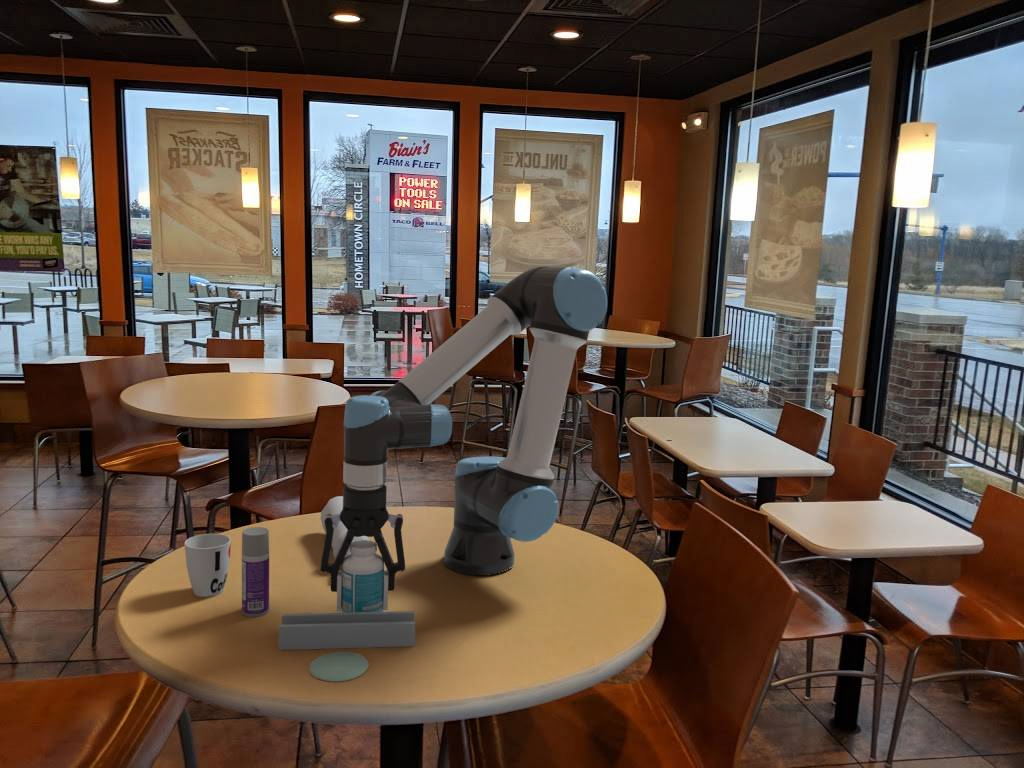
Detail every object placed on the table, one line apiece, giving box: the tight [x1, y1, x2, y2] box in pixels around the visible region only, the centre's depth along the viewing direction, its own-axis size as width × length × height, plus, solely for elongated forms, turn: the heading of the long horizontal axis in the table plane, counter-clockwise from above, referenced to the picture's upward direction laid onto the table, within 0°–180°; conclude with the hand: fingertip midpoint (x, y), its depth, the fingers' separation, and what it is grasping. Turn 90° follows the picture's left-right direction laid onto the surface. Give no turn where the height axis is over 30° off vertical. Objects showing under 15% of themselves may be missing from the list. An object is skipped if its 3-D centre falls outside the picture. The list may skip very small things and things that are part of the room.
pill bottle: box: [341, 539, 385, 613], centre depth 141 cm, size 8×7×14 cm
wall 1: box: [278, 621, 416, 651], centre depth 130 cm, size 22×1×4 cm, turn 99°
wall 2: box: [281, 610, 416, 625], centre depth 134 cm, size 22×1×4 cm, turn 99°
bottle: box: [320, 495, 371, 567], centre depth 172 cm, size 9×9×30 cm
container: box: [241, 526, 270, 618], centre depth 141 cm, size 5×5×15 cm
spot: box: [309, 651, 369, 683], centre depth 124 cm, size 9×9×1 cm
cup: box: [184, 533, 232, 598], centre depth 149 cm, size 8×8×10 cm
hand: (362, 607), depth 142 cm, fingers closed on pill bottle, 7 cm apart
